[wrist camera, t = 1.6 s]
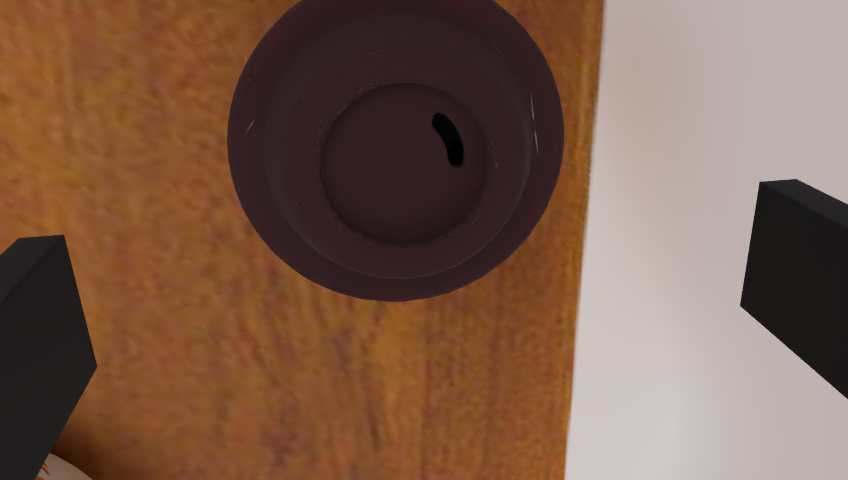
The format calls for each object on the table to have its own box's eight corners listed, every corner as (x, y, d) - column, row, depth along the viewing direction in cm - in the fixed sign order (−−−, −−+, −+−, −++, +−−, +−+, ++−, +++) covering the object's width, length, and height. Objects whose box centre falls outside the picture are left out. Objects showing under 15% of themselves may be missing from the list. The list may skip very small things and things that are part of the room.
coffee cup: (259, 163, 34) (209, 313, 20) (276, -57, 30) (229, -59, 16) (459, 187, 35) (538, 341, 22) (498, -19, 32) (623, 9, 18)
